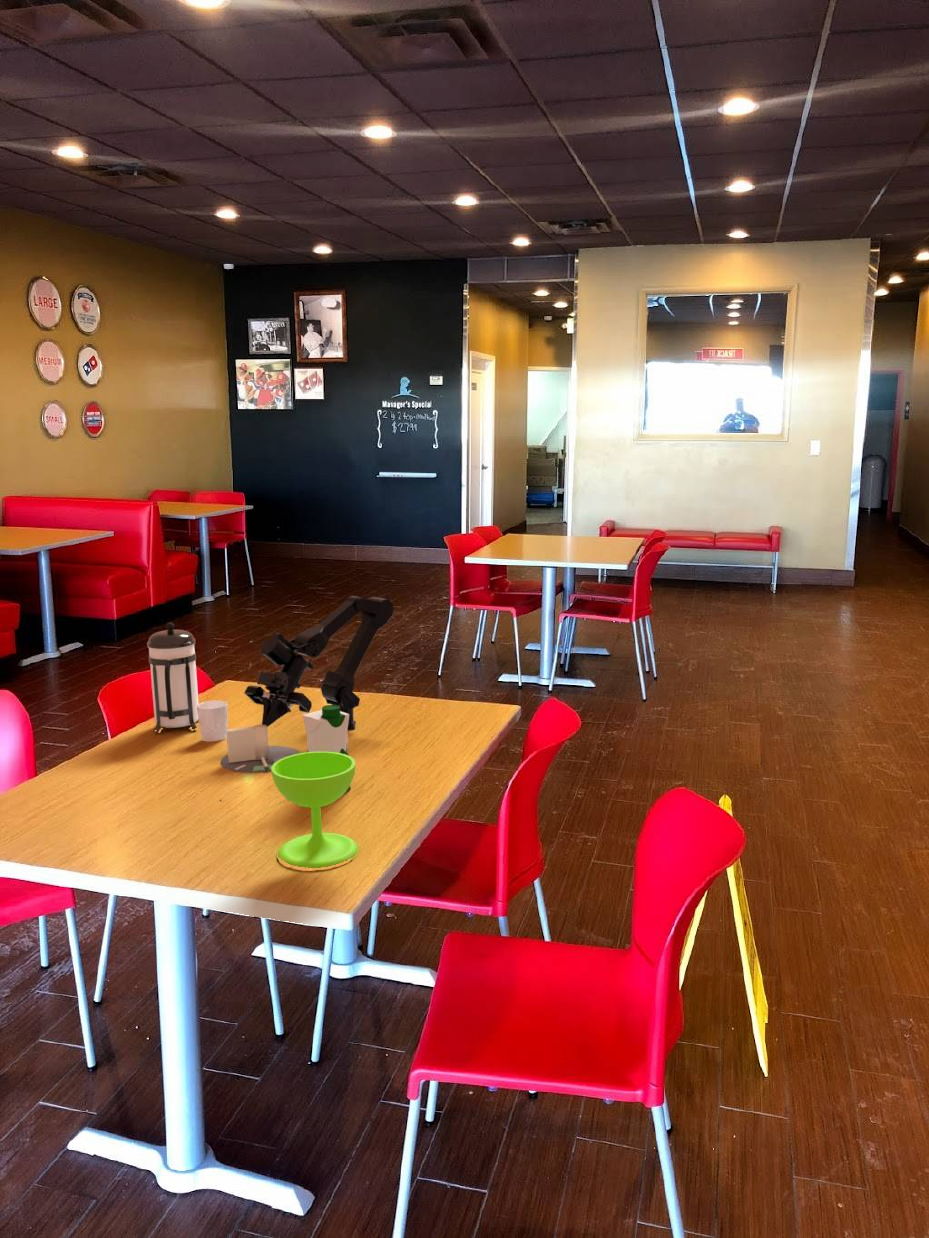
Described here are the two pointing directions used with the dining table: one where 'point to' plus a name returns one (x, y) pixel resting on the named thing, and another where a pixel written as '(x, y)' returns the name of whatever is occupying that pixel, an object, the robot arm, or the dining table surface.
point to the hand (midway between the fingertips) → (263, 727)
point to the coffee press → (173, 678)
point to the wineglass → (315, 805)
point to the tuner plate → (259, 761)
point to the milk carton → (327, 730)
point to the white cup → (213, 720)
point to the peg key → (248, 744)
